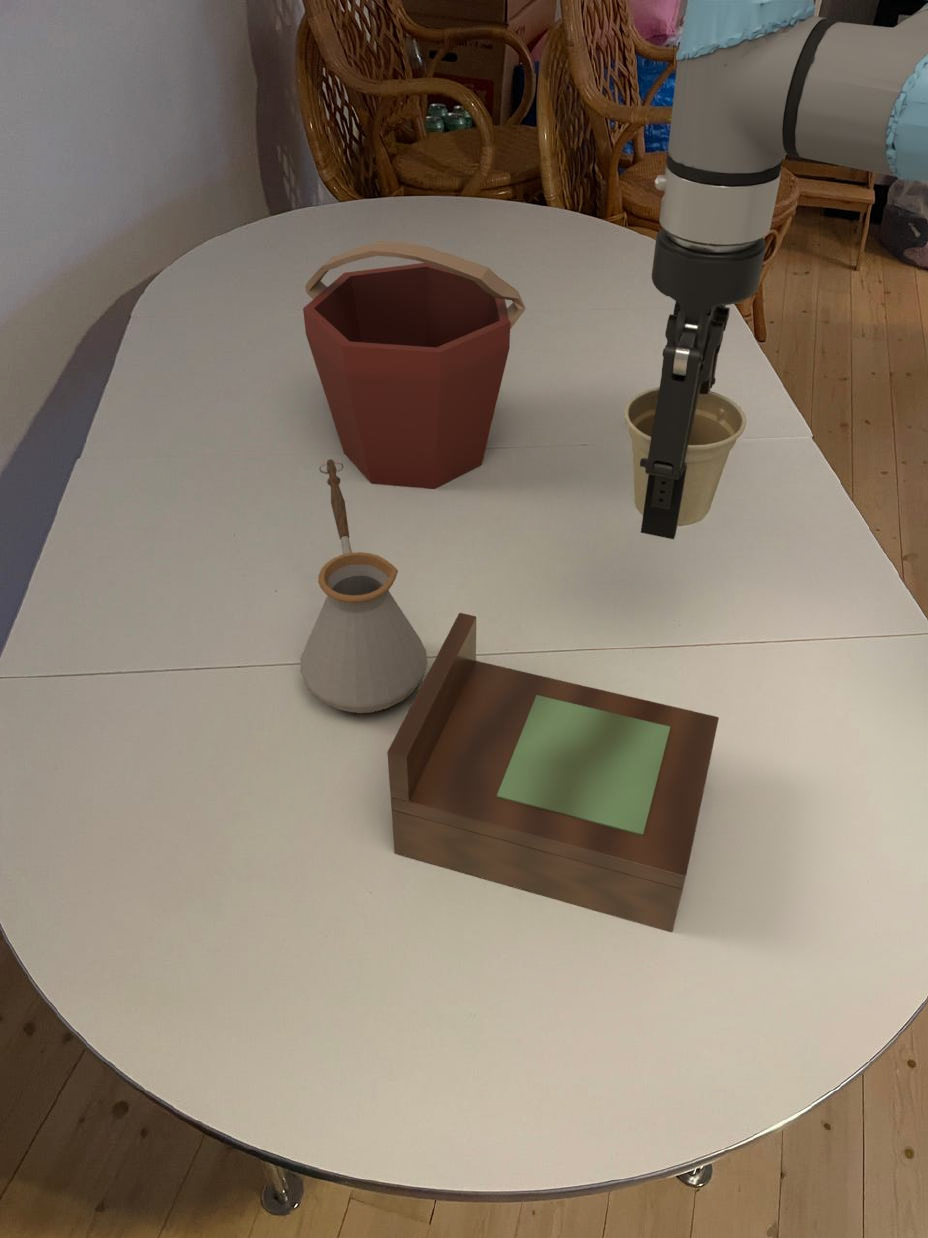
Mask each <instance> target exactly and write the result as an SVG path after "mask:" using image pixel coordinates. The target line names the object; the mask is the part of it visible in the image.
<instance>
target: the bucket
mask: <svg viewBox="0 0 928 1238" xmlns="http://www.w3.org/2000/svg"><path fill="white" fill-rule="evenodd" d="M374 257H385V258H386V257H387V258H388V257H389V258H398V259H399V258H400V259H405V260H412V261H416V262H420V263H412V264H403V265H396V266H387V267H379V268H371V269H363V270H356V271H349V272H348V271H347V272H346V271H345V272H343V273H342V274H341V275H339V277H337V278H336V279H335V280H334V281H333V282H332V283H331V284H329V286H327V285H326V284H324V282H322V279H323V278H324V277H325V275H326V274H327V273H328V272H329V271H332V270H334V269H337V268H339V267H341V266H343V265H345V264H346V265H347V264H350V263H353V262H356V261H361V260H364V259H369V258H374ZM304 288H305V292H306V294H307V295H308V296H309V297H310V298H311V299H312V300H311V301H310V302H308V304H306V305H305V306H304V307H303V308H302V311H303V313H302V314H303V320H304V321H303V322H304V330H305V336H306V339H307V343H308V345H309V348H310V352H311V355H312V358H313V360H314V365H315V367H316V371H317V373H318V377H319V379H320V383H321V386H322V389H323V392H324V395H325V398H326V401H327V404H328V408H329V412H330V414H331V416H332V421H333V424H334V426H335V429H336V433H337V436H338V439H339V442H340V445H341V448H342V452H343V454H344V455H345V457H346V458H348V459H349V461H350V462H351V463H352V464H353V465H354V466H355V467H356V469H358V471H360V473H361V474H362V475H363V476H364V477H365V478H366V479H367V481H369V483H370V484H373V485H386V486H399V487H408V488H420V489H432V490H435V489H437V488H439V487H441V486H443V485H445V484H447V483H449V482H451V481H453V480H456V479H457V478H459V477H460V476H463V475H464V474H466V473H468V472H470V471H472V470H475V469H476V468H478V467H480V466H482V465H483V460H484V457H485V453H486V449H487V444H488V442H489V441H488V440H489V436H490V431H491V427H492V424H493V420H494V415H495V411H496V407H497V403H498V398H499V394H500V390H501V387H502V386H501V385H502V382H503V377H504V373H505V370H506V365H507V361H508V356H509V353H510V347H511V330H512V328H513V327H514V325H516V323H517V322H518V321H519V319H520V318H521V316H522V315H523V314H524V312H525V311H526V310H527V308H526V306H525V304H524V302H523V300H522V298H521V295H520V292H519V291H518V289H516V288H515V287H514V286H512V285H511V284H510V283H509V282H507V281H505V280H504V279H502V278H501V277H500V276H498V275H497V274H496V273H495V272H494V271H493V270H492V269H491V268H490V267H488V266H485V265H482V264H480V263H477V262H474V261H471V260H468V259H466V258H463V257H460V256H457V255H455V254H451V253H449V252H445V251H443V250H439V249H435V248H433V247H428V246H423V245H418V244H413V243H408V242H400V241H399V242H398V241H386V240H385V241H383V240H381V241H378V242H374V243H369V244H365V245H362V246H359V247H355V248H352V249H349V250H347V251H346V252H343V253H340V254H338V255H334V256H332V257H330V258H329V259H328V261H326V262H324V264H322V265H321V266H320V267H319V268H318V269H317V270H316V272H314V274H313V275H312V276H311V277H310V278H309V280H308V281H307V282H306V283H305V285H304ZM506 300H507V301H512V303H510V305H509V306H508V307H507V302H506Z"/></svg>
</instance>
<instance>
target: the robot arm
mask: <svg viewBox="0 0 928 1238" xmlns="http://www.w3.org/2000/svg"><path fill="white" fill-rule="evenodd" d="M815 12H816V4H815V0H687V3H686V9H685V14H684V20H683V25H682V29H681V30H682V31H681V36H680V42H679V47H678V50H677V51H676V55H675V60H676V62H677V63H676V71H675V82H674V89H673V90H674V91H673V98H672V110H671V119H670V129H669V136H668V137H669V138H668V146H667V147H668V148H667V152H666V158H665V163H666V166H665V171H664V174H659V175H657V176H656V178H655V180H654V187H655V189H656V190H658V191H663V192H664V194H663V196H662V197H661V203H660V211H659V219H658V222H659V224H660V226H661V227H662V228H661V229H660V230H659V231H658V232H657V234H656V235H655V236H656V237H655V244H654V252H653V260H652V269H651V281H652V283H653V285H654V287H655V288H656V289H657V290H658V292H659V293H661V294H662V295H664V296H665V297H669V298H671V299H672V300H674V301H675V304H674V307H673V312H672V313H673V314H671V313H670V314H669V315H668V318H667V323H666V328H665V333H664V336H665V338H666V345H665V346H664V348H663V350H662V353H661V355H662V357H663V358H662V367H661V375H660V376H661V377H660V382H659V387H660V388H659V394H658V400H657V406H656V412H655V418H654V424H653V430H652V436H651V442H650V448H649V454H648V459H647V458H642V459H641V460H640V467H645V472H646V474H649V476H648V483H647V490H646V497H645V504H644V512H643V515H642V519H641V527H640V534H645V535H650V536H655V537H658V538H664V539H669V540H675V538H676V534H677V531H678V530H677V529H678V526H677V524H678V518H679V512H680V506H681V500H682V494H683V488H684V482H685V476H686V470H687V465H686V463H685V459H686V455H687V449H688V445H689V440H690V435H691V431H692V426H693V421H694V416H695V411H696V407H697V402H698V397H699V393H700V394H708V391H711V389H712V388H713V386H715V383H716V377H715V376H716V371H717V363H718V357H719V353H720V351H721V346H722V344H723V341H724V340H723V339H724V332H725V331H726V329H727V325H728V321H729V318H730V311H731V308H730V307H728V306H731V305H735V304H738V303H741V302H744V301H745V300H747V299H749V298H751V297H752V296H753V295H754V294H755V293H756V291H757V290H758V289H759V284H760V280H761V275H762V274H761V273H762V268H763V264H764V259H765V255H766V248H767V242H766V240H765V236H767V235H768V233H769V232H770V231H771V227H772V222H773V216H774V212H775V211H774V210H775V207H776V201H777V196H778V191H779V187H780V182H781V176H782V167H783V160H784V155H787V156H790V157H796V158H803V159H807V160H812V161H817V162H822V163H825V164H826V163H827V164H831V165H836V166H842V167H846V168H852V169H856V170H860V171H865V172H866V171H867V172H872V173H875V174H881V175H886V176H891V177H896V178H897V179H899V180H901V181H905V182H907V183H908V182H909V183H917V182H924V183H925V182H926V183H928V2H927V3H925V4H924V5H923V6H922V7H921V8H920V9H919V10H918V11H915V13H914V14H912V15H910V16H909V17H907V18H906V19H905V20H903V21H901V22H900V23H898V24H897V25H895V26H894V27H891V26H890V27H889V26H888V27H887V26H879V25H870V24H869V25H868V24H860V23H851V22H842V21H838V20H833V19H832V20H831V19H828V18H827V17H821V16H817V15H815Z"/></svg>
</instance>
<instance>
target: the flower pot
mask: <svg viewBox="0 0 928 1238" xmlns="http://www.w3.org/2000/svg"><path fill="white" fill-rule="evenodd" d="M659 388H660V386H658V387H655V388H651V389H647V390H645V391H642V392H640V393H638V394H636V395H635V396H632V397H631V399H630V400H629V401H628V402H627V403H626V405H625V406H624V412H623V414H624V417H623V419H624V421H625V423H626V425H627V427H628V434H629V437H630V439H631V446H632V449H631V450H632V466H633V467H632V470H633V490H634V491H633V492H634V495H633V497H634V498H633V499H634V501H633V502H634V505H635V508H636V510H637V512H638V513H639V514H640V515H642V516H643V512H644V504H645V497H646V490H647V483H648V476H649V474H646V472H645V467H640V460H641V459H642V458H647V459H648V454H649V448H650V442H651V436H652V430H653V424H654V418H655V412H656V406H657V400H658V394H659ZM746 426H747V417H746V414H745V412H744V410H743V409H742V408H741V406H739V405H738V404H737V403H736V402H735V401H733V400H732V399H730V398H728V397H726V396H725V395H723V394H720V393H718V392H714V391H712V390H710V391H708V394H700V393H699V397H698V402H697V407H696V411H695V416H694V421H693V426H692V431H691V435H690V440H689V445H688V449H687V455H686V459H685V463H686V465H687V470H686V476H685V482H684V488H683V494H682V500H681V506H680V512H679V518H678V524H677V527H683V526H690V525H694V524H696V523H699V522H701V521H702V520H704V518H705V517H706V516H707V515H708V513H709V512H710V511H711V508H712V504H713V501H714V498H715V495H716V492H717V489H718V486H719V483H720V480H721V477H722V475H723V471H724V469H725V466H726V463H727V460H728V457H729V454H730V451H732V450H733V448H734V447H735V445H736V443H737V440H738V438H740V437H741V436H742V435H743V434H744V432H745V429H746Z"/></svg>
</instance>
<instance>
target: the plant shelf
mask: <svg viewBox="0 0 928 1238" xmlns="http://www.w3.org/2000/svg"><path fill="white" fill-rule="evenodd" d="M718 725H719V716H715V715H712V714H707V713H702V712H698V711H694V710H689V709H686V708H681V707H677V706H672V705H669V704H663V703H659V702H655V701H650V700H646V699H642V698H638V697H633V696H630V695H626V694H620V693H616V692H613V691H608V690H603V689H599V688H596V687H592V686H591V687H590V686H586V685H582V684H578V683H574V682H569V681H566V680H564V681H563V680H561V679H556V678H551V677H548V676H543V675H539V674H534V673H531V672H526V671H521V670H518V669H513V668H508V667H504V666H500V665H496V664H491V663H487V662H483V661H478V660H477V616H476V615H471V614H467V613H463V612H458V614H457V616H456V618H455V620H454V622H453V624H452V626H451V628H450V630H449V632H448V634H447V636H446V638H445V639H444V642H443V644H442V645H441V647H440V649H439V652H438V653H437V655H436V657H435V658H434V661H433V662H432V665H431V666H430V668H429V671H428V673H427V674H426V677H425V678H424V679H423V682H422V684H421V686H420V687H419V689H418V691H417V694H416V696H415V697H414V700H413V702H412V703H411V706H410V707H409V709H408V711H407V713H406V714H405V717H404V719H403V721H402V722H401V725H400V727H399V729H398V730H397V732H396V735H395V736H394V738H393V740H392V742H391V744H390V746H389V748H388V750H387V752H386V754H387V767H388V780H389V781H388V783H389V795H390V809H391V822H392V823H391V824H392V837H393V850H394V851H393V852H394V854H395V853H397V854H396V855H399V856H402V855H403V857H406V856H408V857H407V858H409V857H410V859H413V858H414V859H413V860H416V859H418V860H417V861H420V862H423V861H424V862H423V863H427V862H429V863H428V864H430V863H433V864H432V865H434V864H435V866H438V867H441V866H442V868H445V867H446V869H448V868H449V869H448V870H452V869H453V870H452V871H455V870H456V871H455V872H459V871H460V872H459V873H462V872H463V874H466V873H467V875H469V874H472V875H471V876H473V875H474V877H476V876H479V877H478V878H480V877H481V878H480V879H483V878H486V879H485V880H487V879H488V880H487V881H490V880H493V881H492V882H494V881H496V882H495V883H497V882H501V883H503V884H502V885H504V884H506V885H505V886H508V885H511V886H515V887H518V888H517V889H519V888H521V889H520V890H522V889H524V890H523V891H526V892H529V891H530V892H529V893H533V892H534V893H533V894H536V893H537V894H536V895H539V896H543V895H545V896H544V897H547V896H548V897H547V898H550V897H551V899H553V900H557V899H559V900H558V901H561V900H562V901H561V902H564V901H565V902H564V903H569V904H572V905H575V906H579V907H582V908H585V907H586V909H589V910H592V911H597V912H600V913H603V914H607V915H610V916H614V917H617V918H621V919H624V920H628V921H632V922H635V923H639V924H641V925H645V926H649V927H653V928H656V929H660V930H664V931H667V932H670V933H673V932H674V929H675V923H676V920H677V915H678V912H679V908H680V903H681V899H682V895H683V890H684V886H685V883H686V878H687V873H688V869H689V864H690V859H691V854H692V850H693V845H694V840H695V835H696V829H697V826H698V821H699V815H700V811H701V806H702V802H703V798H704V797H703V796H704V792H705V787H706V782H707V777H708V773H709V767H710V762H711V758H712V752H713V748H714V743H715V740H716V733H717V729H718ZM404 855H405V856H404ZM421 860H422V861H421ZM482 877H483V878H482ZM501 883H500V884H501ZM511 886H510V887H511ZM515 887H514V888H515Z"/></svg>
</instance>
